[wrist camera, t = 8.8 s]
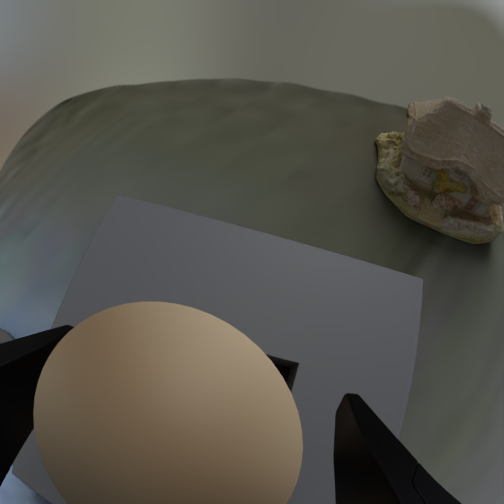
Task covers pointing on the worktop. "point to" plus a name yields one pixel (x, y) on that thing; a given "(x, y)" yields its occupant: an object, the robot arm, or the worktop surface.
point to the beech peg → (165, 412)
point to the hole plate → (259, 317)
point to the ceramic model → (446, 169)
